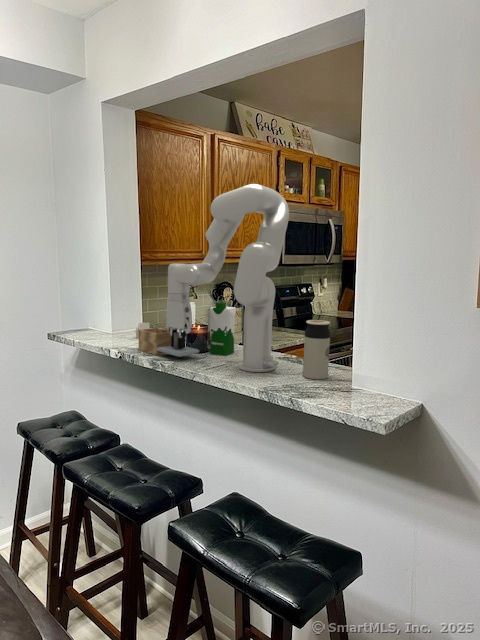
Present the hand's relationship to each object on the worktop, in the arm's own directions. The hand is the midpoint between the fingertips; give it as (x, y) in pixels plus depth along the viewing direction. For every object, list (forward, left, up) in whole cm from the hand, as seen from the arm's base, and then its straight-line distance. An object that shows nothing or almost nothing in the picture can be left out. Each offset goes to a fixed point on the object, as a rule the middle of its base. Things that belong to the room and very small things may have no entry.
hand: (178, 346), depth 174 cm
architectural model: (+41, -13, -5) cm, 43 cm away
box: (+14, -1, -4) cm, 15 cm away
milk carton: (-5, -18, -4) cm, 19 cm away
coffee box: (+4, -25, -4) cm, 26 cm away
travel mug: (-50, -16, -4) cm, 53 cm away
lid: (0, 0, -2) cm, 2 cm away
